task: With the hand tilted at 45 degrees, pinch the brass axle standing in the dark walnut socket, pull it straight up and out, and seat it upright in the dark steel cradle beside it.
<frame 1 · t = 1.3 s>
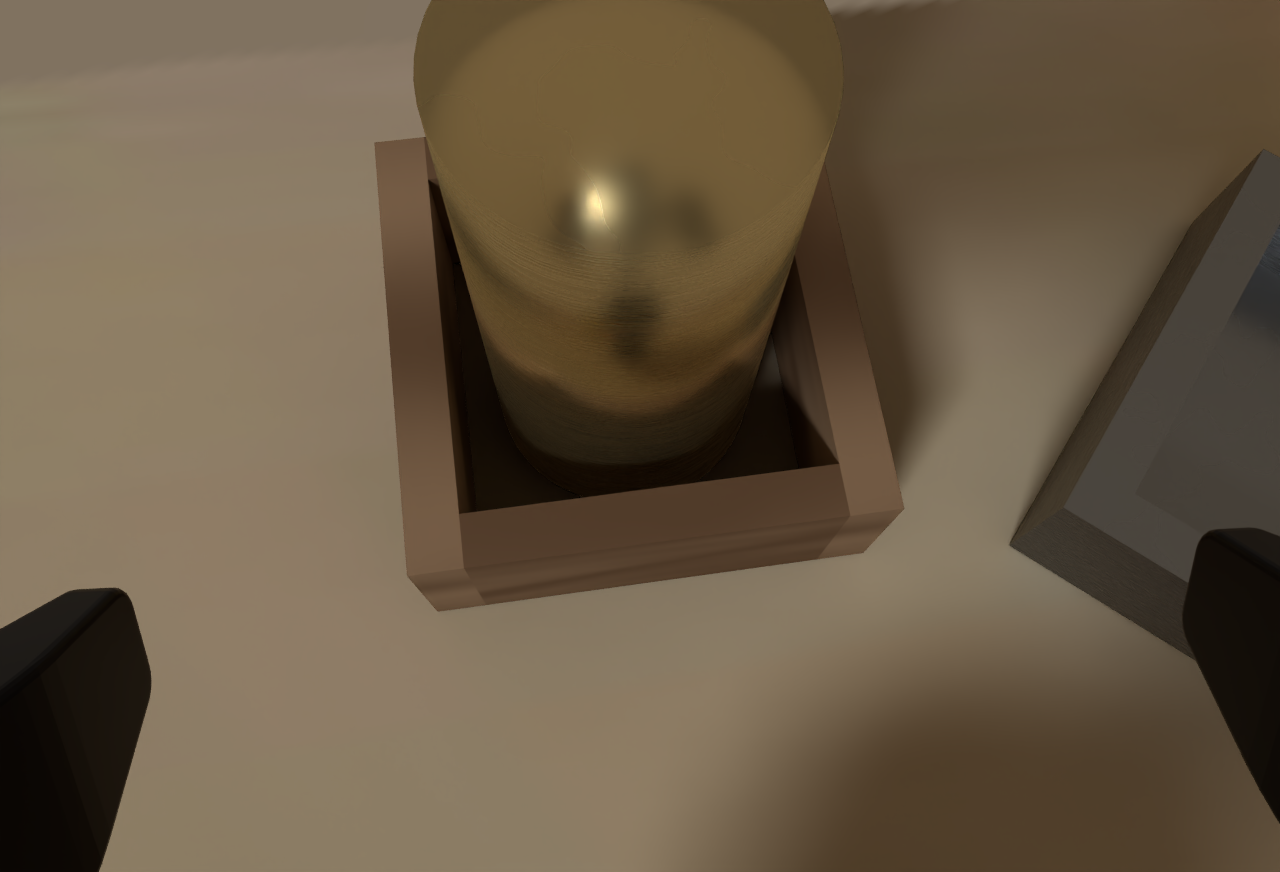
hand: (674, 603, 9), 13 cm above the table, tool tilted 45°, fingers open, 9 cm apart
walnut socket: (623, 383, 24), on the table
brass axle: (625, 266, 19), in the walnut socket
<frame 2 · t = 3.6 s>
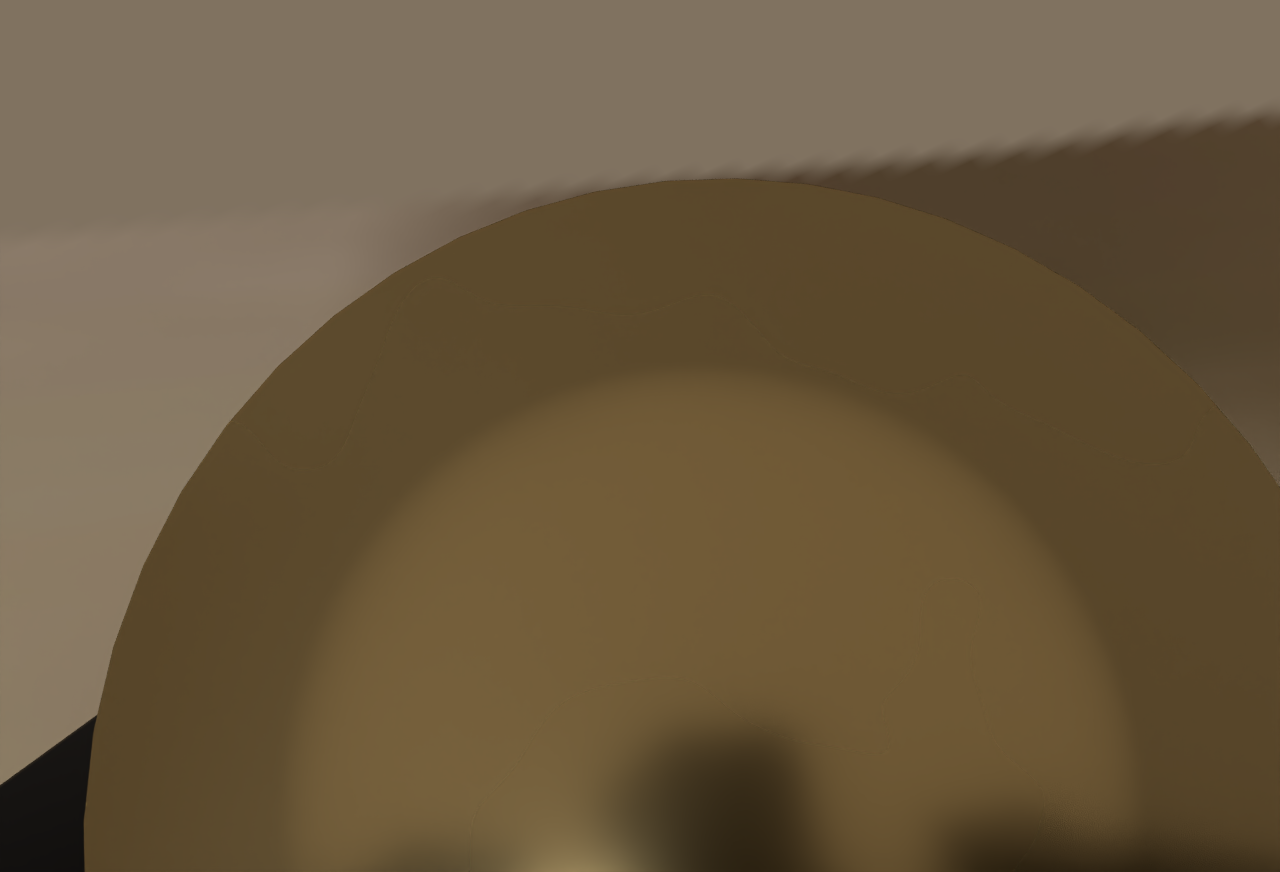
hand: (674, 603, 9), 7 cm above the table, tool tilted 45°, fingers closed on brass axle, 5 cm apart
brass axle: (679, 781, 10), in the walnut socket, touching gripper
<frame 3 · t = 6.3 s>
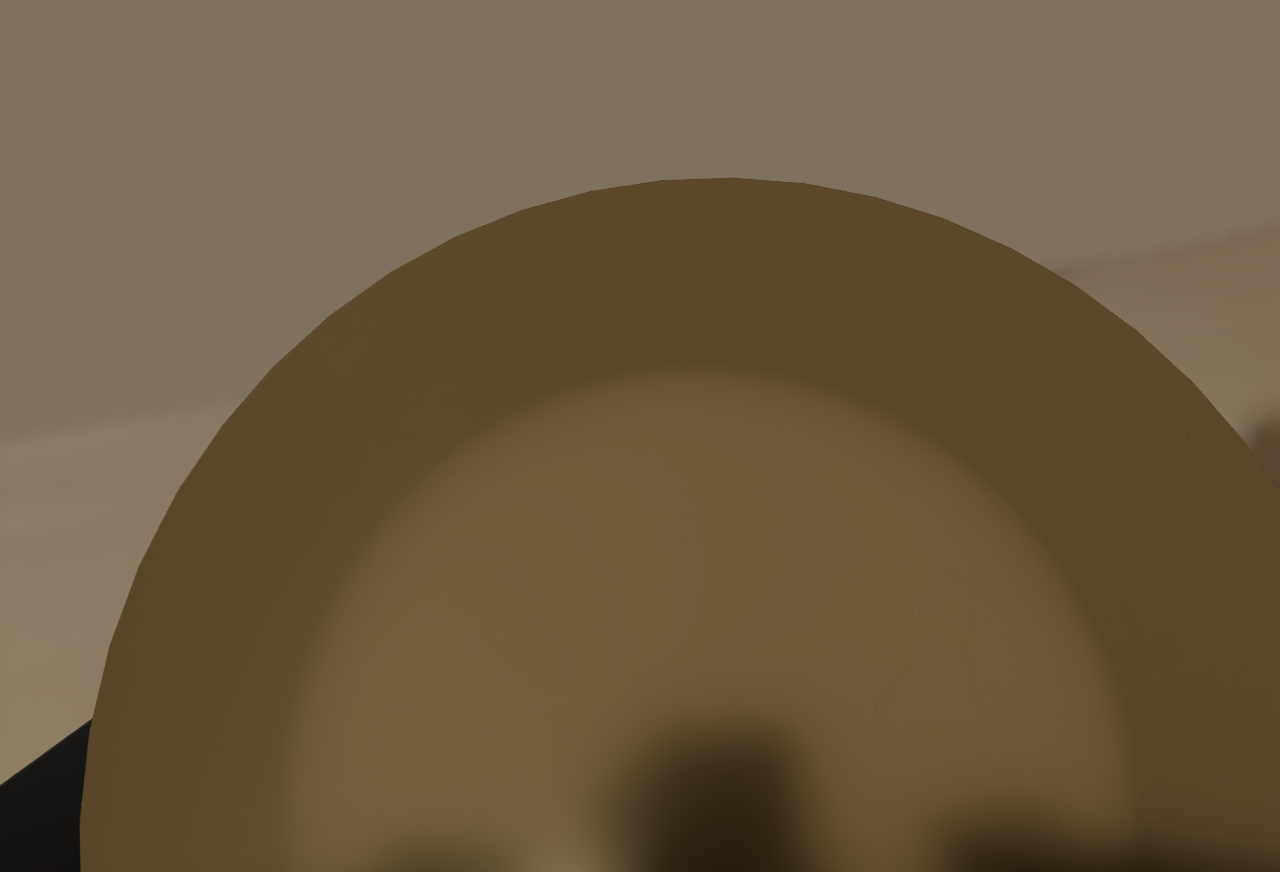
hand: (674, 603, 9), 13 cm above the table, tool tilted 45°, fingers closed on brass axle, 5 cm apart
brass axle: (677, 781, 10), point 12 cm above the table, touching gripper
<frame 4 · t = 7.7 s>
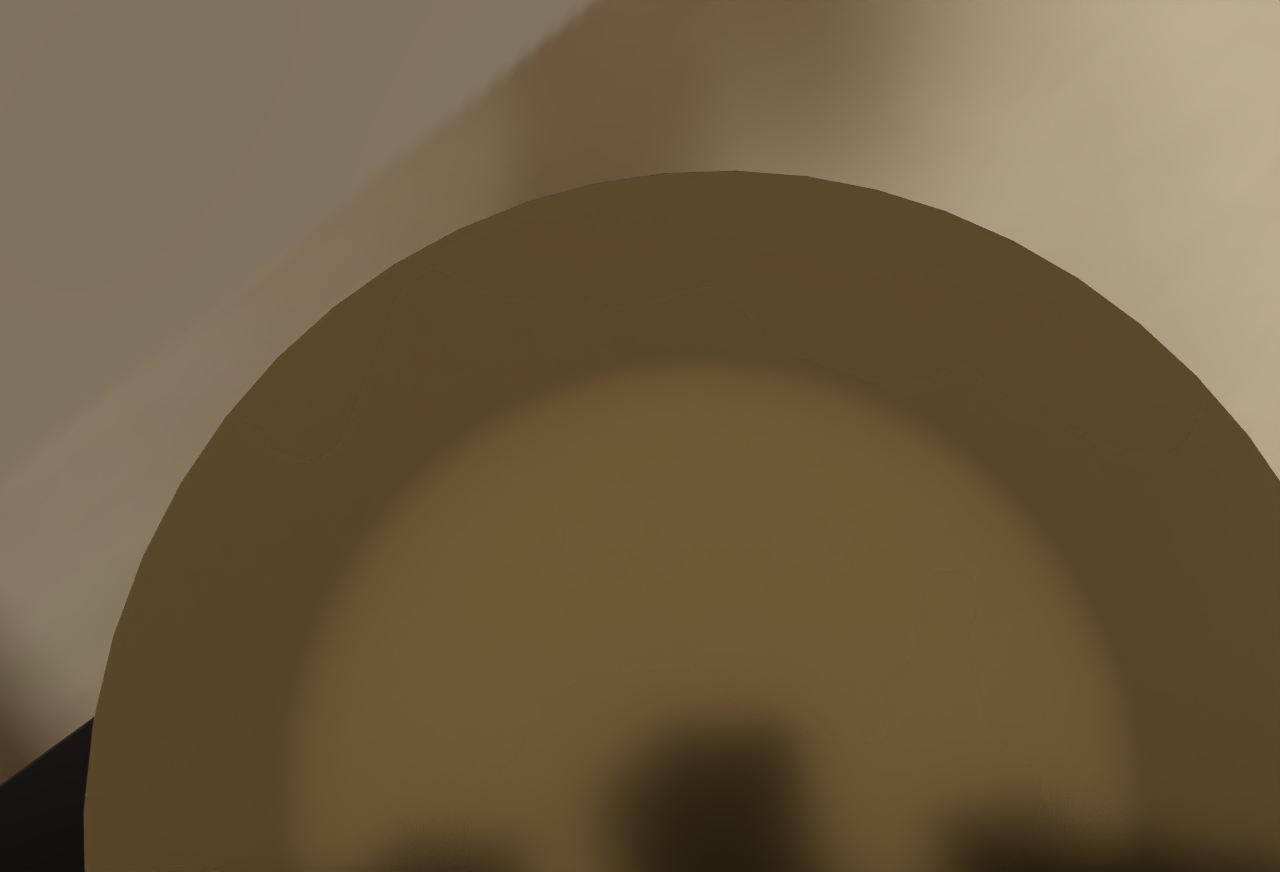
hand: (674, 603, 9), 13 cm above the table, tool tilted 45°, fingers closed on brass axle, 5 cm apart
brass axle: (678, 777, 10), point 12 cm above the table, touching gripper
when the fingers open (9 cm above the table, at t = 8.9 s): brass axle drops 1 cm, resting on steel cradle.
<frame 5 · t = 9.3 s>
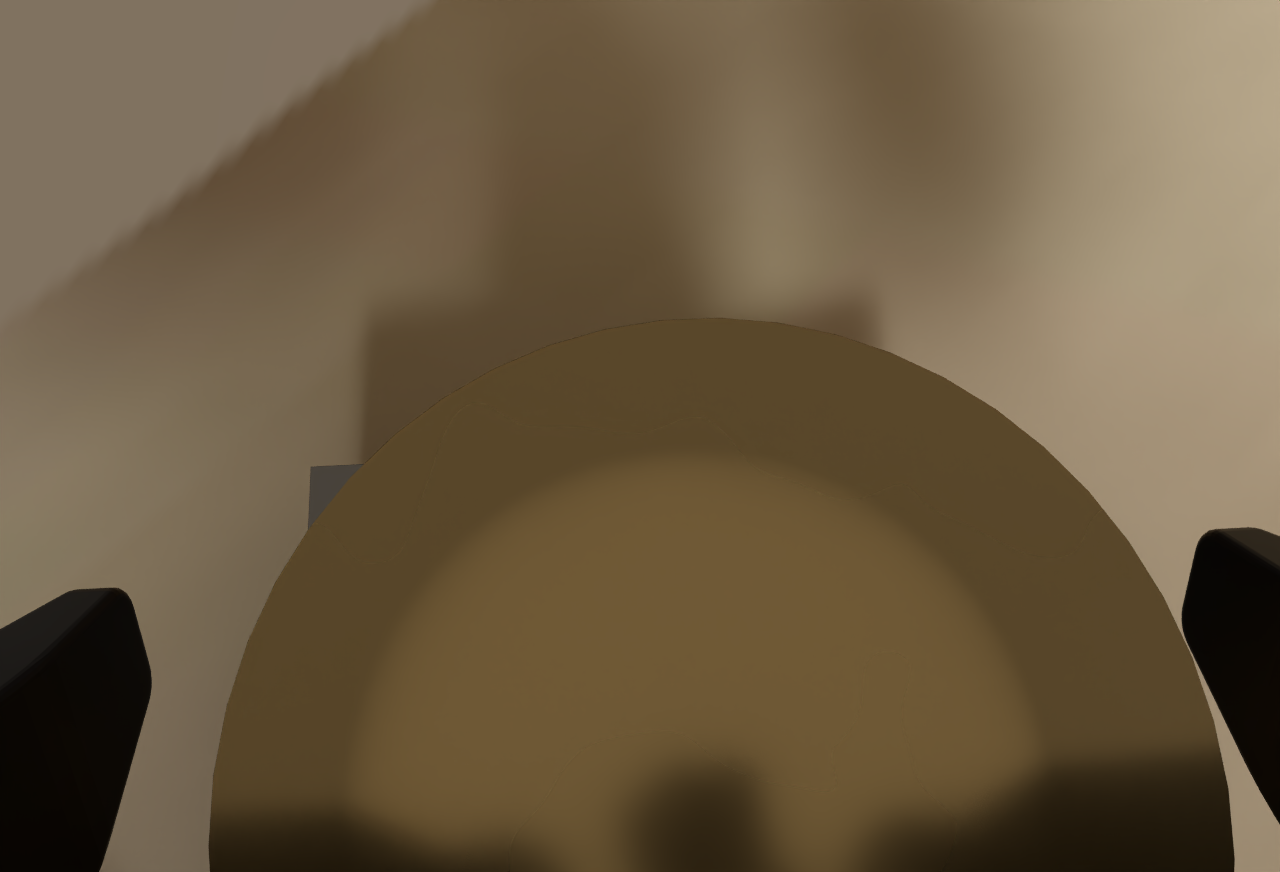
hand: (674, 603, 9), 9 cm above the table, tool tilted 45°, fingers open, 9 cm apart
steel cradle: (652, 795, 17), on the table
brass axle: (672, 793, 11), in the steel cradle, point 6 cm above the table
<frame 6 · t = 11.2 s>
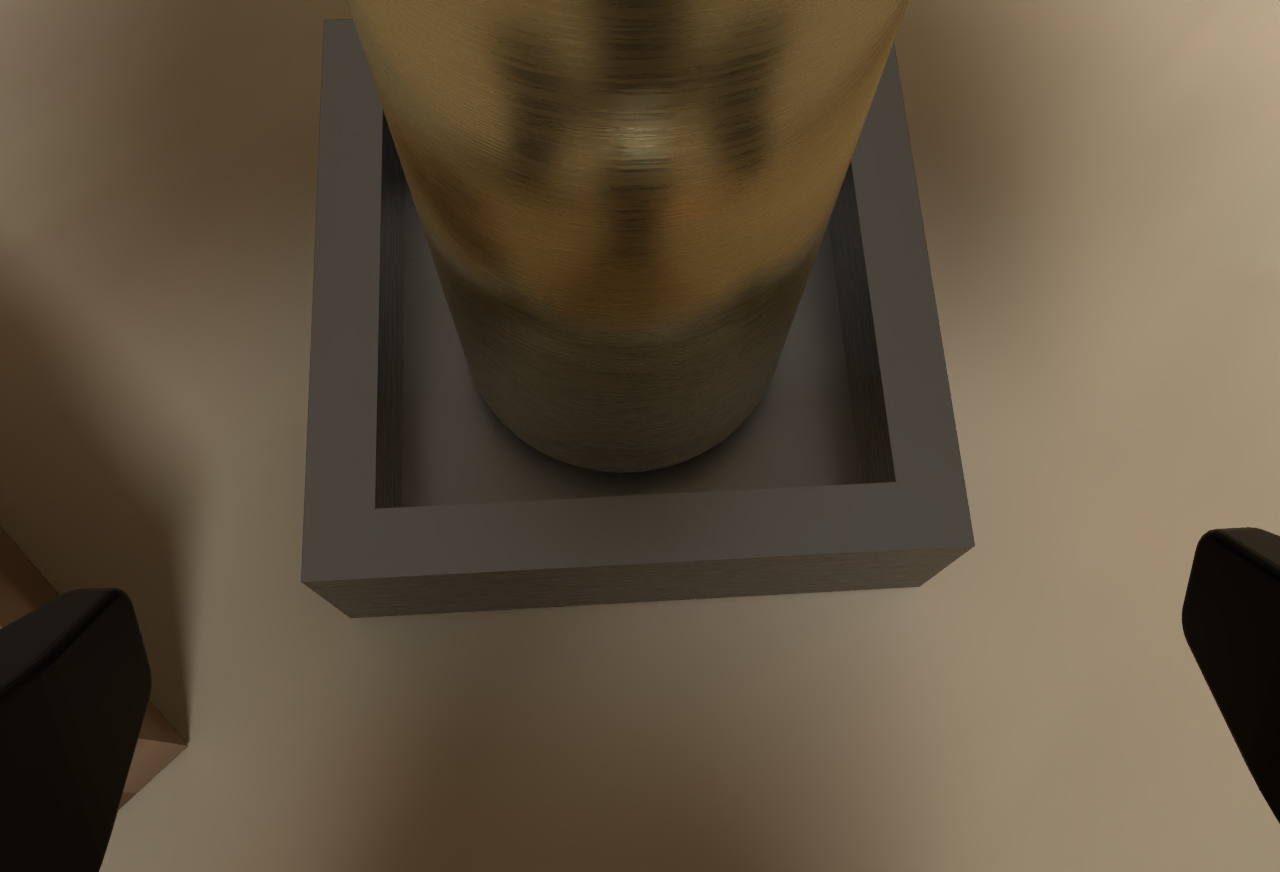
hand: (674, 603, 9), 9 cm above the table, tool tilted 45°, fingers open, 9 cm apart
steel cradle: (622, 340, 20), on the table
brass axle: (625, 131, 14), in the steel cradle, point 6 cm above the table
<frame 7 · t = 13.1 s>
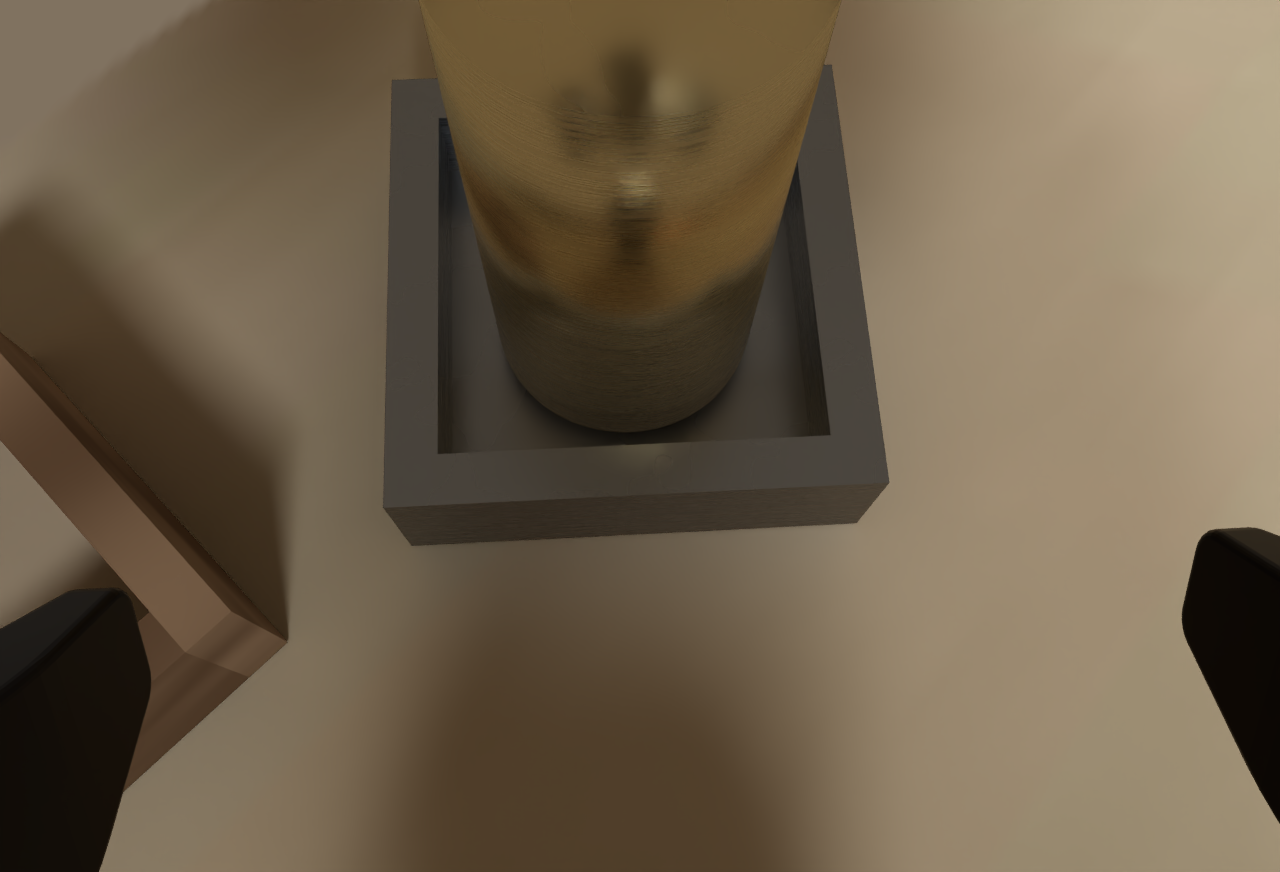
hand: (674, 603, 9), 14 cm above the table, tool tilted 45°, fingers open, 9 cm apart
steel cradle: (624, 331, 25), on the table
brass axle: (626, 174, 19), in the steel cradle, point 6 cm above the table
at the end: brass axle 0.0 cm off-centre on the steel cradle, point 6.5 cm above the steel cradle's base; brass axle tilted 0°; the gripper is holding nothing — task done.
